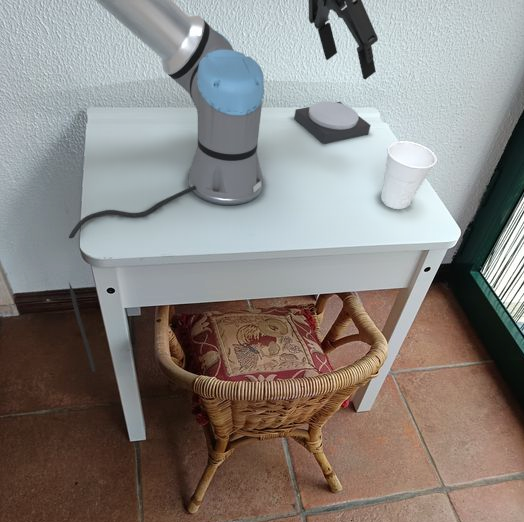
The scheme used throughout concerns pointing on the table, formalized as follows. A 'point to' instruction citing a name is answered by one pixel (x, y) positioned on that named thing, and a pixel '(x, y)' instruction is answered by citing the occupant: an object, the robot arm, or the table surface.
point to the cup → (405, 172)
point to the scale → (331, 121)
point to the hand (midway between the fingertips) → (349, 65)
